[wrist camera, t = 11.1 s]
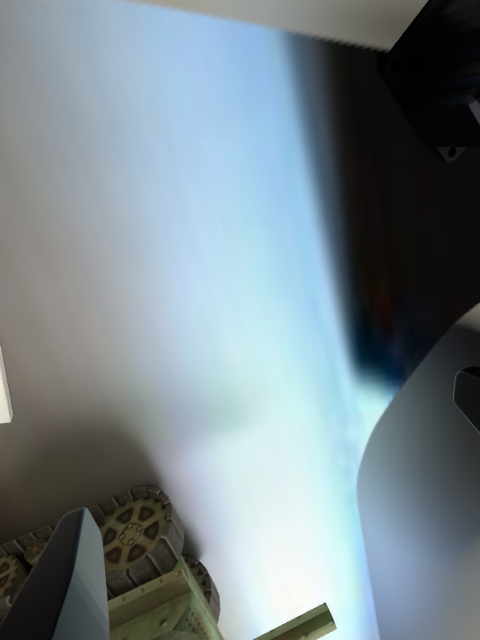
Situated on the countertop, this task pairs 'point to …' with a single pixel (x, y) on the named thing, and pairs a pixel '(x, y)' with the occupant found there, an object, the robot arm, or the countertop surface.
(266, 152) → the countertop surface
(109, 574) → the toy
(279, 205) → the countertop surface
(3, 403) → the board
